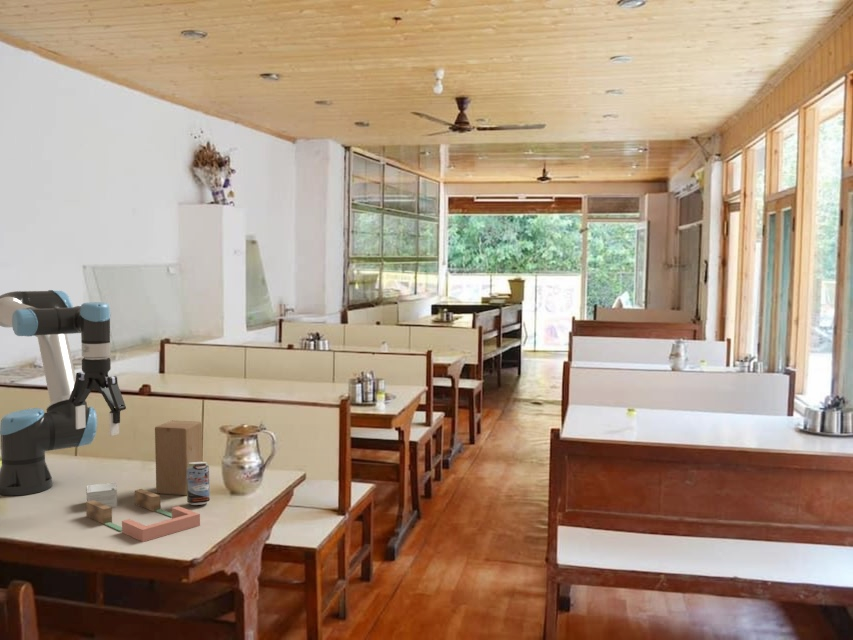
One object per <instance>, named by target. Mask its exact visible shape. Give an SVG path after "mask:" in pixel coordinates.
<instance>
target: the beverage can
mask: <svg viewBox="0 0 853 640" xmlns="http://www.w3.org/2000/svg"><path fill="white" fill-rule="evenodd" d="M210 495H211V494H210V466H209V464H208V462H207V461H202V462H191V463H189V465H188V467H187V495H186V497H187V498H186V501H187V503H189V504H190V505H191V506H198V505H206V504H208V502H209V501H210V499H211V497H210Z"/></svg>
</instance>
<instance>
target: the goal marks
mask: <svg viewBox="0 0 853 640" xmlns="http://www.w3.org/2000/svg"><path fill="white" fill-rule="evenodd" d="M155 513H159V514H162V515H164V516H166V517H169V518H171V519H172V512H169V511H167V510H164V509H162V508H161V509H159V510H156V511H155ZM105 526H107V527H109V528H110V529H113V530H116V531H118V532H119V533H120V532H122V526H120V525H117V524H116V523H113V522H112V523H111V522H109V523H105Z"/></svg>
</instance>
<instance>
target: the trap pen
mask: <svg viewBox="0 0 853 640" xmlns="http://www.w3.org/2000/svg"><path fill="white" fill-rule="evenodd" d="M171 513H172V518H171V519H166V520H163V521H159V522H155V523H151V524H148V525H144V524H142V523H140V522H137V521H135V520H133V519H131V518H128V519H124V520H121V527H122V531H121V532H122V534H124V535H127V536H128V537H131V538H134V539H135V540H138V541H140V542H142V543H144V542H147V541H150V540H154V539H158V538H162V537H164V536H169V535H173V534H175V533H178V532H181V531H186V530H189V529H193V528H196V527H200V526H201V513H198V512H196V511H193V510H190V509H187V508H185V507H182V506H173V507H171Z"/></svg>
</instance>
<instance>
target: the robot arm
mask: <svg viewBox="0 0 853 640" xmlns="http://www.w3.org/2000/svg"><path fill="white" fill-rule="evenodd" d="M110 311H111V310H110V305H109V304H108V303H107V302H99V301H98V302H96V301H95V302H94V301H93V302H92V301H89V302H83V303H82V304H81V306H80V305H76V306H74V305H73V302H72V300H71V298H70V296H69V294H68V293H66V292H64V291H62V290H52V289H49V290H32V291H31V290H24V291H21V290H19V291H18V290H17V291H10V292H6V293H3V294H1V295H0V327H3V328H12V331H13V332H14V335H16V336H17V337H32V336H33V337H36V338H37V340H38V346H39V351H40V356H41V360H42V361H41V362H42V367H43V371H44V376H45V377H44V378H45V382H46V383H45V384H46V387H47V393H48V396H49V401H50V402H49V405H48V406H47V407H46V412H45V410H44V409H43V408H38V407H35V408H26V409H21V410H16V411H13V412H10V413H7V414H5V415H4V416H3V417H2V418H1V419H0V455H1V456H0V458H1V466H0V495H2V496H23V495H24V496H25V495H26V496H27V495H31V494H38V493H40V492H44V491H47V490H49V489H51V488H52V487H53V477H52V475H51V472H50V470H49V467H48V465H47V462H46V452H49V451H56V450H64V449H72V448H79V447H84V446H87V445H90V444H91V443H92V442H94V440H95V438H96V433H97V427H98V426H97V425H98V418H97V417H98V416H97V411H96V409H95V407H93V406H92V407H91V406H88V404H87V402H88V401H87V398H88V396H89V395H90V394H91V392H92V391H96V392H98V393H99V394H101V395H102V397H103V399H104V400H105V402H106V404H107V406H108V408H109V409H110V411H109V412H108V413H109V414H108V417H109V418H108V419H109V420H108V421H109V423H108V426H109V427H108V429H109V431H108V432H109V436H116V435H119V434H120V422H121V411H124V410H127V407H126V404H125V401H124V398H123V396H122V395H123V394H122V393H121V390H120V389H121V388H120V386H119V384H118V376H116V375H114V376H109V372H110V371H111V369H112V367H111V365H112V363H111V361H112V360H111V358H110V356H111V351H112V350H111V312H110ZM71 334H81V335H80V336H81V337H80V339H81V341H80V342H81V357H83V358H82V359H81V371H79V372H76V373H75V368H74V361H73V358H72V353H71V348H70V344H69V340H68V339H69V338H68V335H71Z"/></svg>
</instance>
